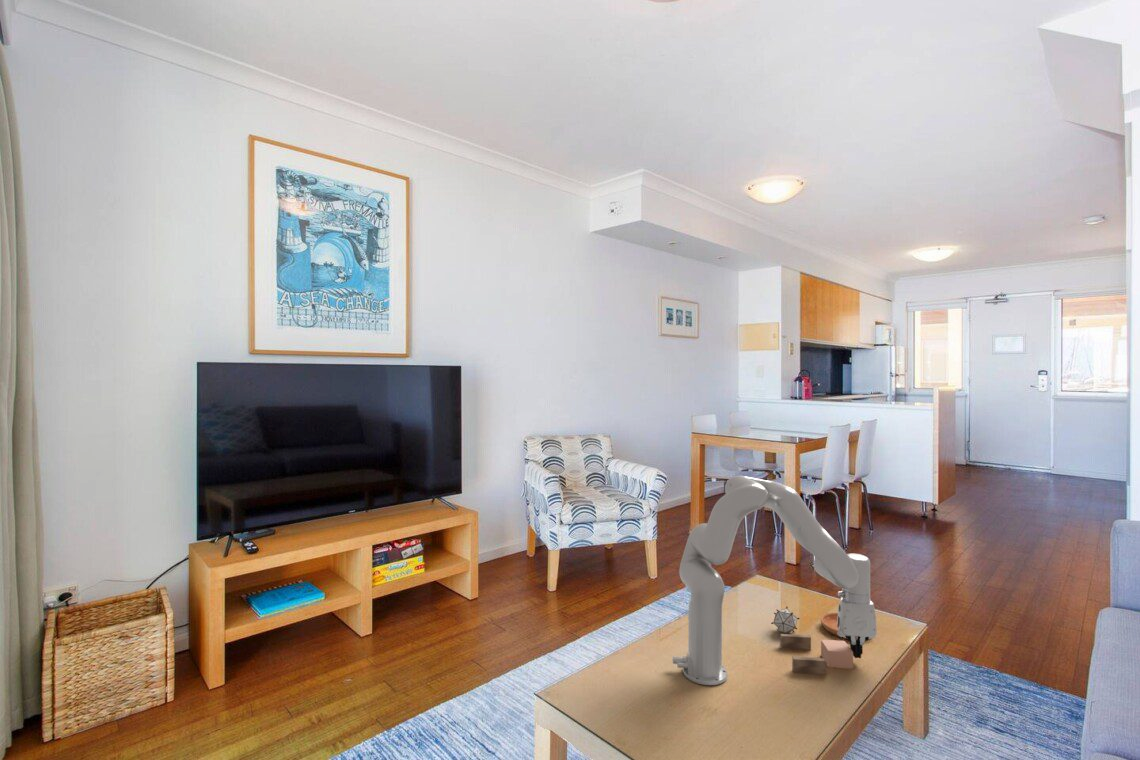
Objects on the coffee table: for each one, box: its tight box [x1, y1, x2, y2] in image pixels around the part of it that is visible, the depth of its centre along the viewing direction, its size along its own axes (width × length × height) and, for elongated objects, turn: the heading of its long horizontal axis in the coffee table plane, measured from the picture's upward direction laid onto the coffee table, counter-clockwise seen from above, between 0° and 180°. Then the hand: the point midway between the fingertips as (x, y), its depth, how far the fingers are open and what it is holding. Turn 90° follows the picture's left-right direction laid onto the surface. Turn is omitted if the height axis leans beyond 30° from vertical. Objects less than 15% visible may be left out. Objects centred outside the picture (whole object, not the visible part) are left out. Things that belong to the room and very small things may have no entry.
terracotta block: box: [820, 639, 854, 669], centre depth 171 cm, size 7×7×5 cm
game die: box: [770, 606, 800, 634], centre depth 190 cm, size 9×8×10 cm
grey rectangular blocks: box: [779, 633, 827, 676], centre depth 172 cm, size 9×16×4 cm, turn 173°
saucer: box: [820, 612, 857, 640], centre depth 191 cm, size 16×16×3 cm
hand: (856, 655), depth 170 cm, fingers closed
